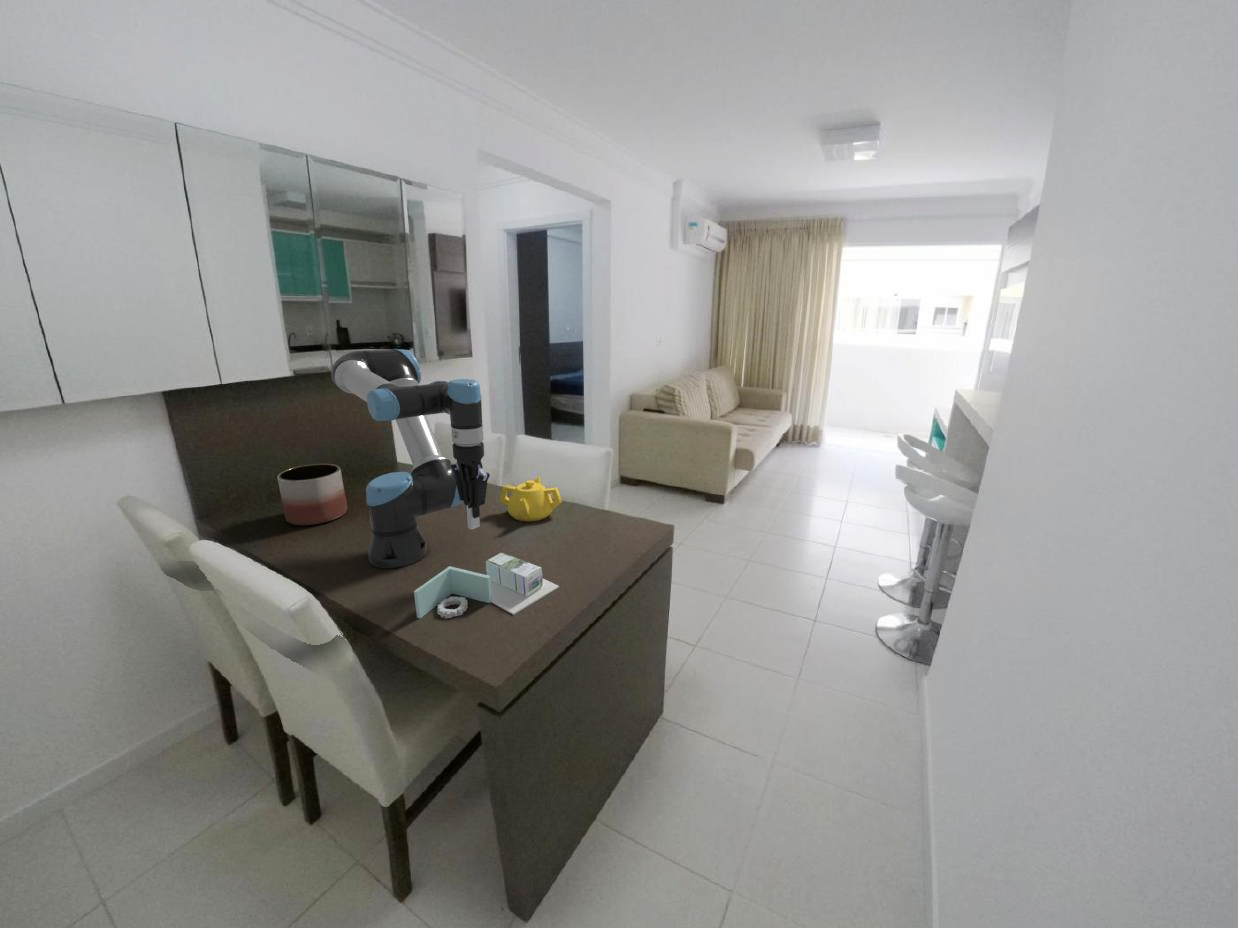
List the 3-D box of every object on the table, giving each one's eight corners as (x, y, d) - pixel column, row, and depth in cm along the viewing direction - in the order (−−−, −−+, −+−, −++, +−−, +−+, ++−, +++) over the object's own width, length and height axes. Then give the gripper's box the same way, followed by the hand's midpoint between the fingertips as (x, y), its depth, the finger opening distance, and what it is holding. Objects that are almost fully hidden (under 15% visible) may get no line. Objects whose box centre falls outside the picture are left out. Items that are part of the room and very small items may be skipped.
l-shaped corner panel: (417, 619, 110) (413, 591, 108) (452, 592, 121) (449, 566, 119) (460, 632, 106) (457, 603, 104) (492, 603, 117) (490, 576, 115)
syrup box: (486, 579, 125) (527, 598, 118) (484, 559, 123) (526, 577, 116) (502, 569, 130) (543, 587, 122) (501, 550, 128) (542, 567, 120)
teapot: (564, 515, 165) (564, 483, 162) (521, 528, 155) (519, 494, 152) (539, 501, 178) (538, 470, 174) (497, 512, 167) (495, 479, 164)
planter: (291, 532, 150) (281, 485, 145) (282, 514, 162) (272, 470, 157) (354, 517, 161) (346, 473, 156) (340, 501, 174) (333, 460, 169)
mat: (471, 590, 121) (471, 589, 121) (517, 567, 132) (517, 565, 132) (513, 615, 112) (513, 613, 112) (559, 587, 123) (559, 586, 123)
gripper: (439, 440, 121) (447, 524, 129) (471, 451, 114) (477, 539, 122) (464, 434, 127) (470, 515, 135) (496, 444, 120) (501, 529, 127)
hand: (473, 527), depth 128 cm, fingers closed
